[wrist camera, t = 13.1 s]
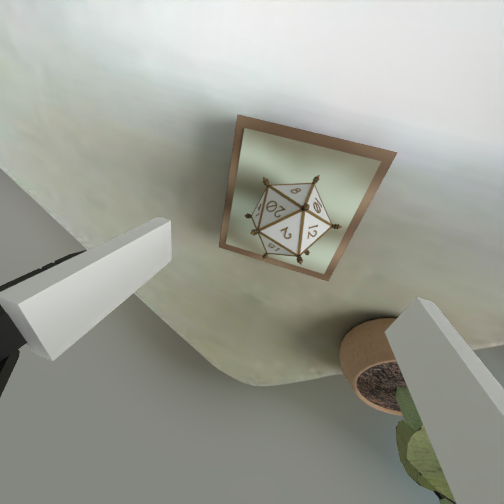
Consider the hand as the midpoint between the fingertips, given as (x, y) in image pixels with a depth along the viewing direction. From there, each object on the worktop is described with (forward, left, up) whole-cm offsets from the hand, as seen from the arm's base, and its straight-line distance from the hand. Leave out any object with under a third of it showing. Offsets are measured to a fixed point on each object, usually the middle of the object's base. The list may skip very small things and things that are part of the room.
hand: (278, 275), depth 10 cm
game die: (0, 0, -14) cm, 14 cm away
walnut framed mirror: (0, 0, -19) cm, 19 cm away
